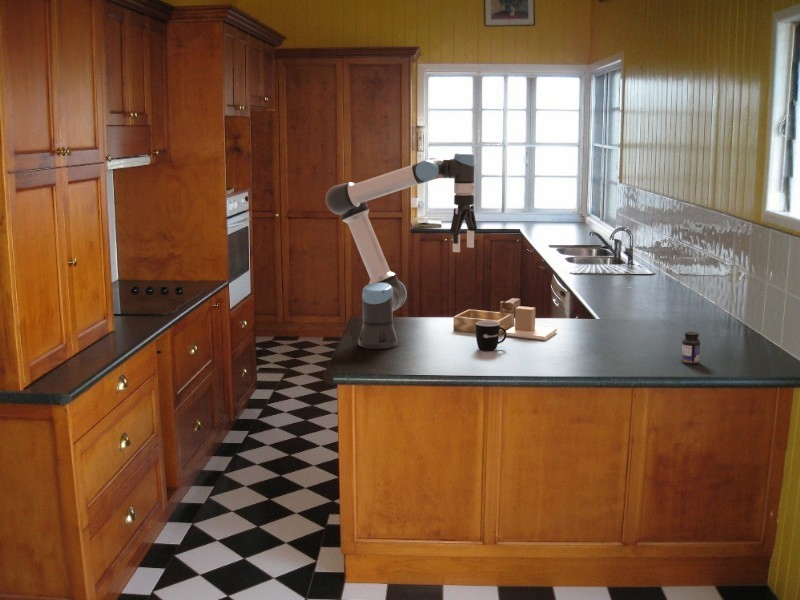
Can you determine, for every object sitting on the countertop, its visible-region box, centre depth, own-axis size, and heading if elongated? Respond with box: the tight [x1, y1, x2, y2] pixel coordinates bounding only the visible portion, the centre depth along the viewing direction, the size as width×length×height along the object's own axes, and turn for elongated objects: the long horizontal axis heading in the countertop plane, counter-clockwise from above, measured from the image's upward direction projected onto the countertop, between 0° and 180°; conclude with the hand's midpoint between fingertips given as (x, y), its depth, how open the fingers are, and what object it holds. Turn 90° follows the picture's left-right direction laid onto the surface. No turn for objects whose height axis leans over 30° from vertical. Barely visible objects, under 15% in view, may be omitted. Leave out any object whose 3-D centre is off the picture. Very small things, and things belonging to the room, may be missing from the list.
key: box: [503, 297, 521, 310], centre depth 378 cm, size 4×11×2 cm, turn 153°
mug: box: [475, 321, 507, 352], centre depth 336 cm, size 12×9×10 cm
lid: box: [506, 305, 558, 341], centre depth 358 cm, size 17×16×11 cm
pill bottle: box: [680, 330, 701, 365], centre depth 316 cm, size 6×6×11 cm
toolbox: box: [452, 300, 515, 337], centre depth 369 cm, size 20×18×10 cm
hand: (463, 249), depth 340 cm, fingers open, 13 cm apart
